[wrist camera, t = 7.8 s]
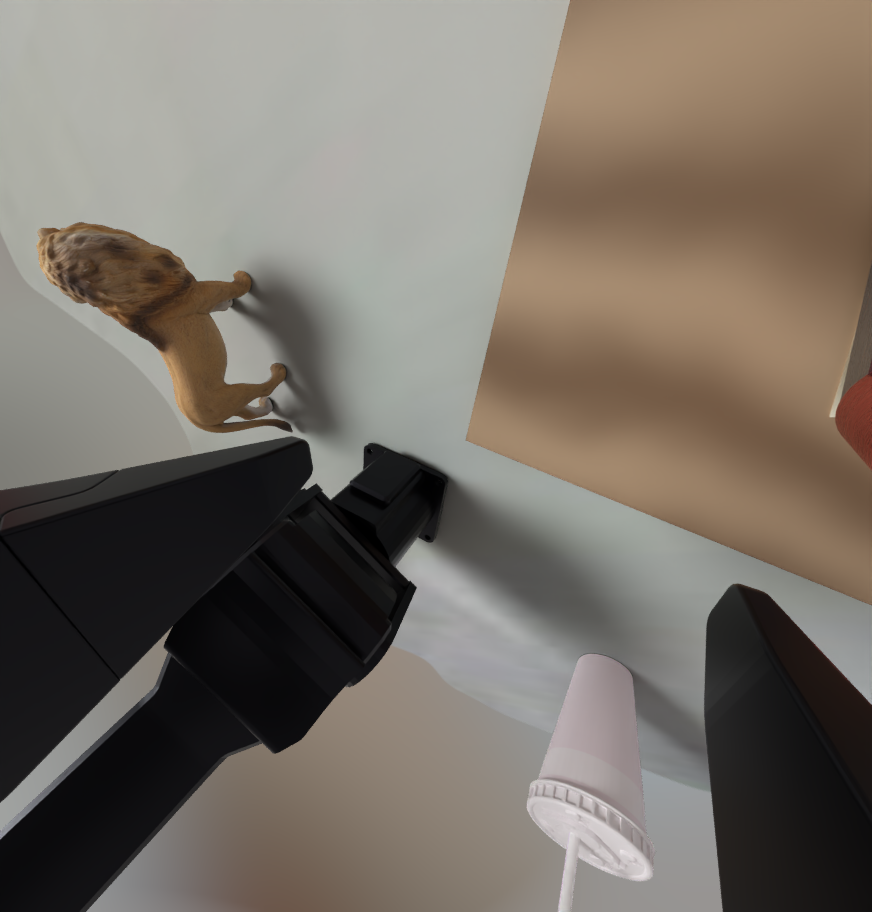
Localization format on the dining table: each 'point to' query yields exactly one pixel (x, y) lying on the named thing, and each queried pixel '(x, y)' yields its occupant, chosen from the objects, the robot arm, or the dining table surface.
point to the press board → (697, 275)
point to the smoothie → (595, 778)
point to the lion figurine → (161, 316)
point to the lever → (859, 386)
